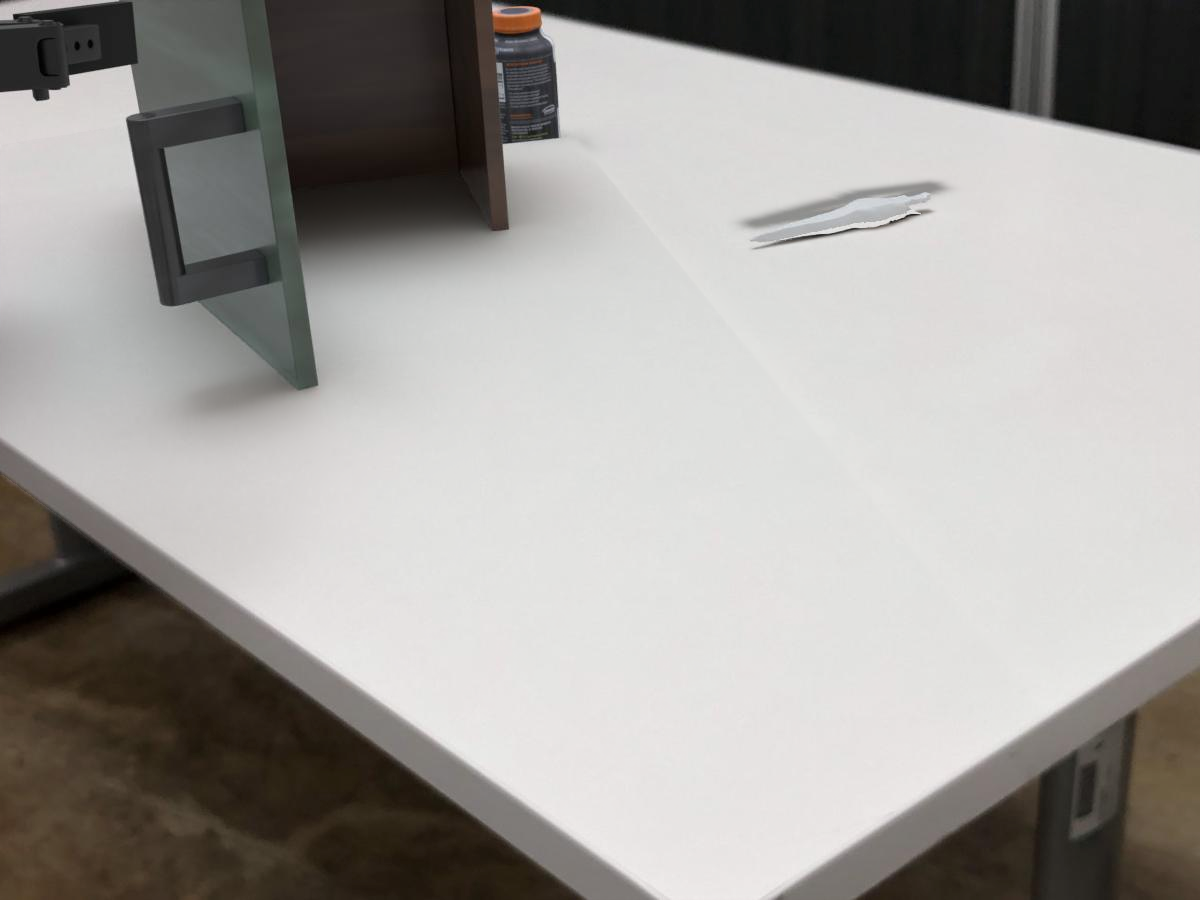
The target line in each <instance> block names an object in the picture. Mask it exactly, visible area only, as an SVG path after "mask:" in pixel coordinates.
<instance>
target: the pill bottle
mask: <svg viewBox="0 0 1200 900" xmlns="http://www.w3.org/2000/svg"><path fill="white" fill-rule="evenodd" d="M492 11H493V10H492ZM493 24H494V37H495V51H496V64H497V77H498V90H499V103H500V117H501V130H502V143H503V145H509V144H517V143H528V142H536V141H544V140H545V141H547V140H554V139H555V140H556V139H561V138H562V135H561V121H560V105H559V92H558V91H559V90H558V75H557V61H556V47H555V42H554V40H553V38H552V37H551V36H550V35H549V34H547V33H545V32H543V30H542V25H543V21H542V12H541V9H540V8H539V7H535V6H526V5H525V6H524V5H523V6H521V5H519V6H508V7H502V8H498V9H495V10H494V11H493Z"/></svg>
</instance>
